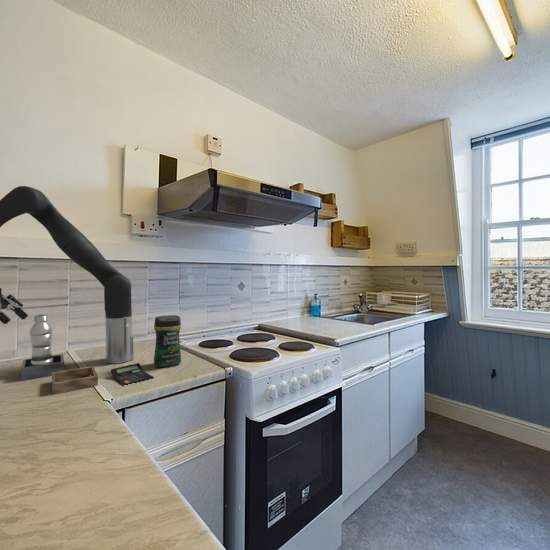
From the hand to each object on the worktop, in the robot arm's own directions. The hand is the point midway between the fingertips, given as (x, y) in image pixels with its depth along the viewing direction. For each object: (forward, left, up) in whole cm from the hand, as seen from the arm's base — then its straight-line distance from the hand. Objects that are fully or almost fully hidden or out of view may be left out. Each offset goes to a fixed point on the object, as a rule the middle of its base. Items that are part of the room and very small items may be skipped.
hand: (17, 319), depth 109 cm
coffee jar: (-45, +20, -19) cm, 53 cm away
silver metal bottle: (-7, +4, -19) cm, 20 cm away
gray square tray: (-7, +4, -18) cm, 20 cm away
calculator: (-31, +27, -19) cm, 45 cm away
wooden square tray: (-15, +23, -18) cm, 33 cm away
